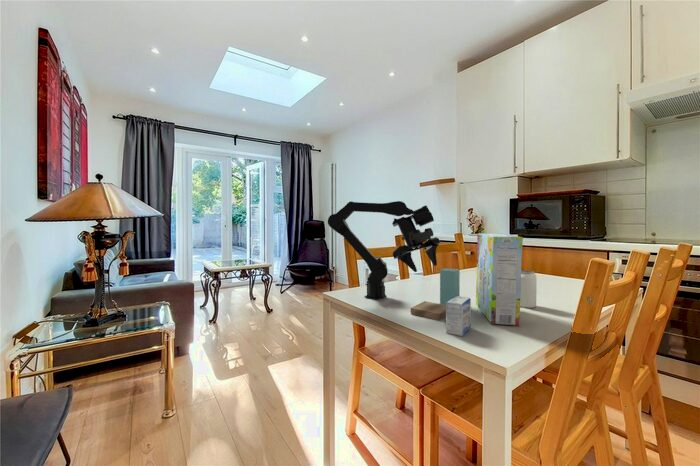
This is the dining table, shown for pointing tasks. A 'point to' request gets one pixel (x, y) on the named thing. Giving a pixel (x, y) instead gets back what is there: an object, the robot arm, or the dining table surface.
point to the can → (528, 289)
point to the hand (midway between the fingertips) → (426, 268)
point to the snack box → (499, 277)
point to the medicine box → (458, 315)
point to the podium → (429, 310)
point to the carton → (449, 284)
